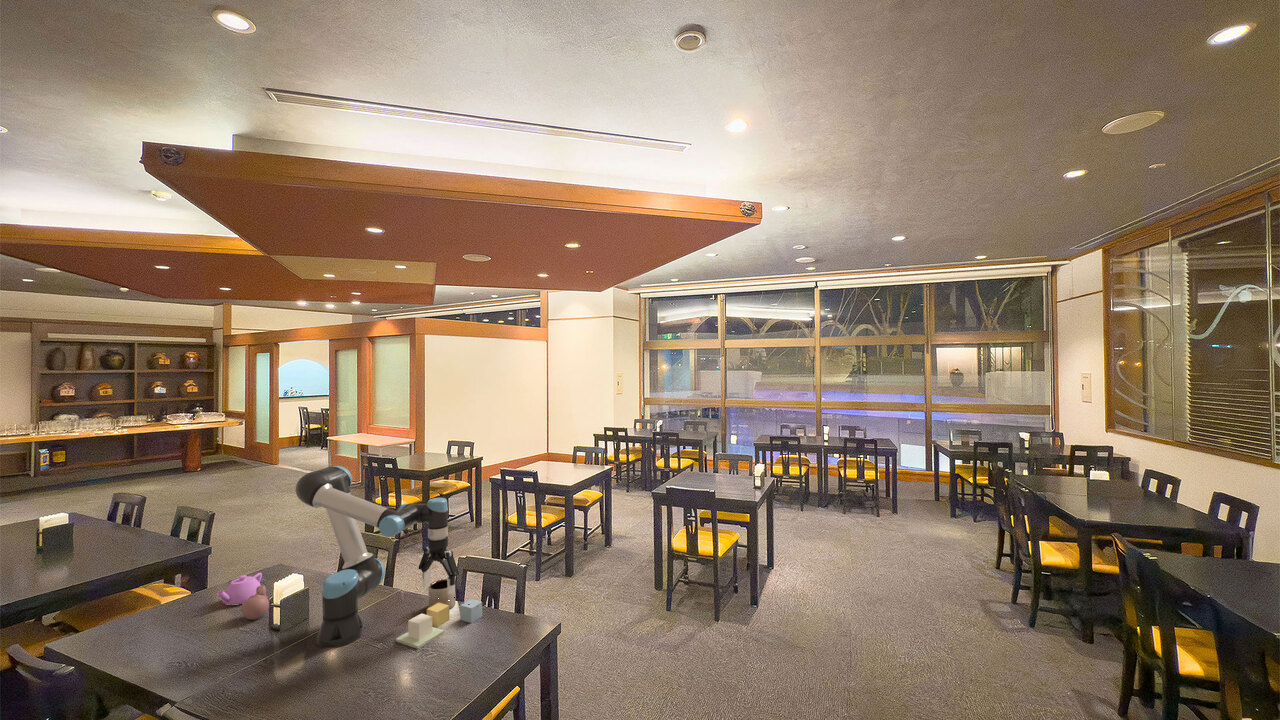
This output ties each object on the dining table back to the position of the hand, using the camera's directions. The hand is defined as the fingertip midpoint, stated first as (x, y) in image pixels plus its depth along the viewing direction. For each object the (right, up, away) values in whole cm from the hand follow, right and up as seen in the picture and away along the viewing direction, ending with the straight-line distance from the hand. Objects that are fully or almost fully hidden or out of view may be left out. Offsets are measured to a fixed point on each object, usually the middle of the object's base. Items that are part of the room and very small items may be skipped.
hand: (438, 590), depth 197 cm
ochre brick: (0, -13, 0) cm, 13 cm away
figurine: (-79, -14, +5) cm, 80 cm away
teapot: (-97, -15, +20) cm, 100 cm away
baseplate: (-2, -13, -11) cm, 17 cm away
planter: (-4, -13, +13) cm, 19 cm away
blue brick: (+12, -13, +3) cm, 18 cm away
